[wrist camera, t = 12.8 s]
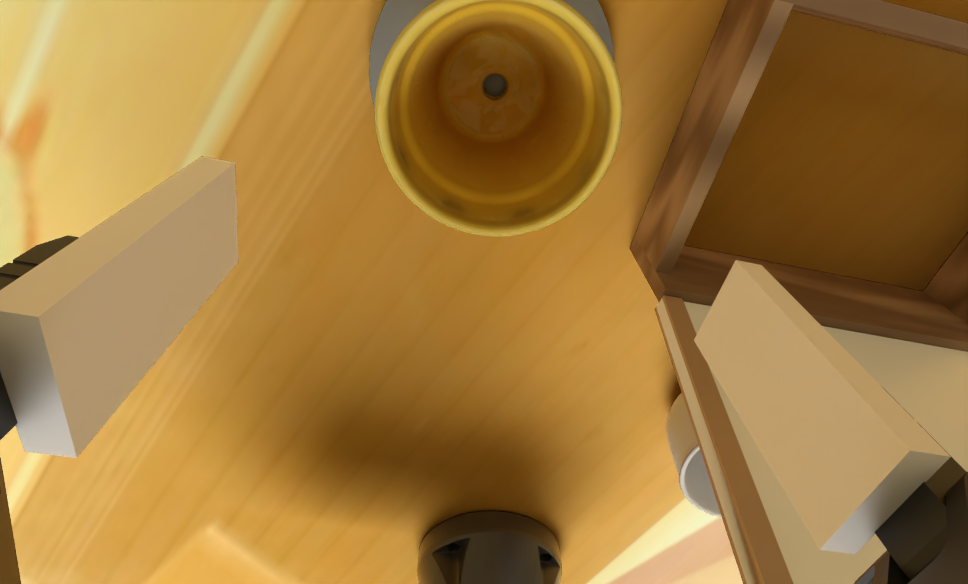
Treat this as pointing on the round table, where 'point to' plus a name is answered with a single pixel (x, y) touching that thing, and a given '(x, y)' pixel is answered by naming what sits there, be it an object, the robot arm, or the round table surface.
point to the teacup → (689, 459)
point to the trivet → (408, 3)
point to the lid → (749, 479)
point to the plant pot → (498, 113)
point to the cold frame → (705, 140)
